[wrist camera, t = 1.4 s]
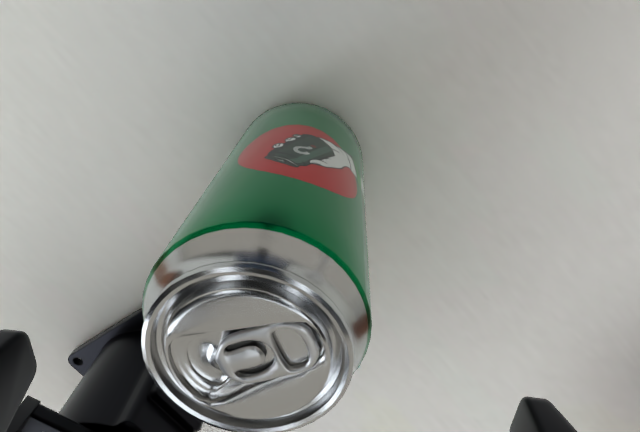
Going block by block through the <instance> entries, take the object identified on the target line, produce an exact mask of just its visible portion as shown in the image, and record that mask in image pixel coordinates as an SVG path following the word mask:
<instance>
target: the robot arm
mask: <svg viewBox="0 0 640 432" xmlns="http://www.w3.org/2000/svg"><path fill="white" fill-rule="evenodd" d="M143 323H144V319H143V312H142V308H141V309H139V310H138V311H136V312H135V313H133V314H131V315H130V316H128V317H127V318H125V319H123V320H122V321H120V322H118V323H117V324H115V325H114V326H112V327H110V328H109V329H107V330H106V331H104V332H102V333H101V334H99V335H97V336H96V337H94V338H93V339H91V340H89V341H88V342H86V343H85V344H83V345H81V346H80V347H78V348H76V349H75V350H74V351H73V352H72V353H71V355H70V356H69V358H68V361H69V363H70V365H71V366H72V367H74V368H75V369H76V370H77V371H78V372H79V373H80V374H81V375H83V376H84V377H83V378H82V380H81V381H80V383H79V384H78V385H77V387H76V388H75V390H74V391H73V393H72V394H71V396H70V397H69V399H68V400H67V402H66V403H65V405H64V406H63V408H62V409H61V411H60V412H59V413H57V412H55V411H53V410H51V409H49V408H47V407H45V406H43V405H41V404H40V401H38V400H36V399H34V398H32V397H30V396H27V397H26V398H25V400H24V401H23V402H22V400H23V398H24V396H25V394H26V392H27V390H28V388H29V386H30V384H31V382H32V380H33V378H34V376H35V373H36V360H35V356H34V353H33V349H32V346H31V343H30V339H29V337H28V335H27V334H26V333H25V332H22V331H15V330H0V432H197V431H199V430H200V429H201V427H202V424H203V422H202V421H200V420H197V419H196V418H194V417H192V416H191V415H189V414H187V413H185V412H184V411H183V410H181V409H180V408H179V407H177V406H176V405H175V404H173V403H172V402H171V401H170V400H169V399H168V398H167V397H166V396H165V395H164V394H163V393H162V392H161V390H160V389H159V388H158V386H157V385H156V384H155V383H154V381H153V379H152V377H151V375H150V374H149V372H148V370H147V367H146V364H145V361H144V358H143V353H142V346H141V338H142V327H143ZM79 358H80V359H81V360H80V359H79ZM21 402H22V403H21ZM510 432H577V431H576V430H575V429H574V427H573V426H572V425H571V424H570V423H569V422H568V421H567V420H566V419H565V418H564V416H563V415H562V414H561V413H560V412H559V411H558V410H557V409H556V408H555V406H554V405H553V404H552V403H551V402H549V401H548V400H546V399H541V398H533V397H524V398H523V399H522V400H521V401H520V403H519V406H518V409H517V411H516V414H515V416H514V419H513V421H512V424H511V427H510Z"/></svg>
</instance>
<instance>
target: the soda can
mask: <svg viewBox="0 0 640 432" xmlns="http://www.w3.org/2000/svg"><path fill="white" fill-rule="evenodd" d="M142 312H143V319H144V323H143V327H142V338H141V346H142V353H143V358H144V361H145V364H146V367H147V370H148V372H149V374H150V375H151V377H152V379H153V381H154V383H155V384H156V385H157V386H158V388H159V389H160V390H161V392H162V393H163V394H164V395H165V396H166V397H167V398H168V399H169V400H170V401H171V402H172V403H173V404H175V405H176V406H177V407H179V408H180V409H181V410H183V411H184V412H185V413H187V414H189V415H191V416H192V417H194V418H196V419H197V420H200V421H202V422H204V423H207V424H209V425H211V426H214V427H217V428H221V429H224V430H228V431H233V432H286V431H290V430H293V429H297V428H300V427H303V426H305V425H307V424H309V423H312V422H314V421H315V420H317V419H319V418H320V417H322V416H323V415H325V414H326V413H327V412H328V411H329V410H331V409H332V408H333V407H334V406H335V405H336V404H337V402H338V401H339V400H340V399H341V397H342V396H343V395H344V393H345V391H346V389H347V387H348V385H349V383H350V381H351V377H352V375H353V373H354V372H355V371H356V370H357V368H358V367H359V366H360V364H361V362H362V360H363V358H364V356H365V354H366V352H367V348H368V345H369V342H370V337H371V327H372V320H371V302H370V284H369V266H368V249H367V231H366V213H365V195H364V177H363V161H362V153H361V149H360V145H359V143H358V141H357V139H356V137H355V135H354V133H353V132H352V130H351V129H350V128H349V127H348V125H347V124H346V123H345V122H344V121H343V120H342V119H340V118H339V117H338V116H337V115H335V114H334V113H332V112H330V111H328V110H327V109H324V108H322V107H319V106H316V105H311V104H306V103H292V104H285V105H281V106H277V107H275V108H273V109H270V110H268V111H266V112H265V113H263V114H262V115H260V116H259V117H258V118H257V119H256V120H255V121H254V122H253V123H252V124H251V125H250V127H249V128H248V129H247V131H246V132H245V133H244V135H243V136H242V138H241V139H240V141H239V142H238V144H237V145H236V147H235V148H234V150H233V151H232V152H231V154H230V155H229V157H228V158H227V160H226V161H225V163H224V164H223V166H222V167H221V168H220V170H219V171H218V173H217V174H216V176H215V177H214V179H213V180H212V182H211V183H210V185H209V186H208V187H207V189H206V190H205V192H204V193H203V195H202V196H201V198H200V199H199V201H198V202H197V203H196V205H195V206H194V208H193V209H192V211H191V212H190V214H189V215H188V217H187V218H186V220H185V221H184V222H183V224H182V225H181V227H180V228H179V230H178V231H177V233H176V234H175V236H174V237H173V238H172V240H171V241H170V243H169V244H168V246H167V247H166V249H165V250H164V252H163V253H162V255H161V256H160V257H159V259H158V260H157V262H156V263H155V265H154V266H153V268H152V270H151V272H150V274H149V276H148V279H147V281H146V285H145V289H144V293H143V303H142Z"/></svg>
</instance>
